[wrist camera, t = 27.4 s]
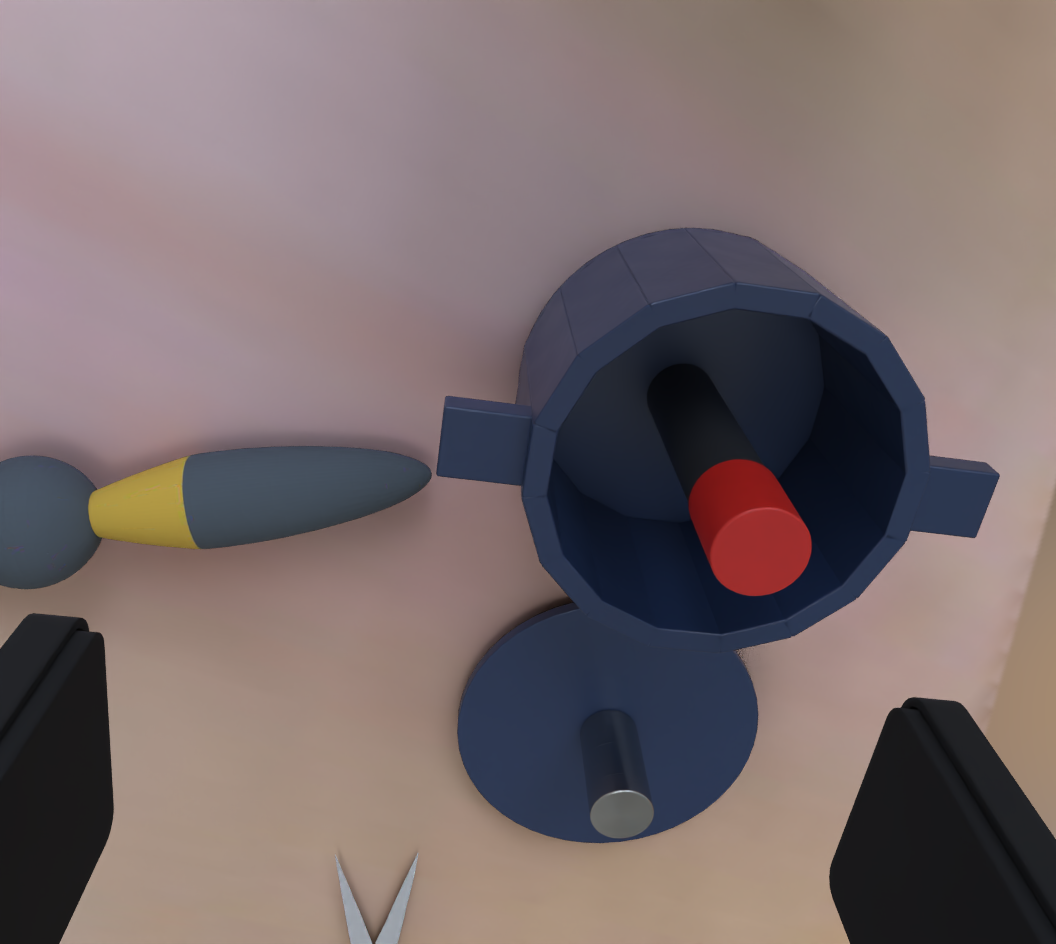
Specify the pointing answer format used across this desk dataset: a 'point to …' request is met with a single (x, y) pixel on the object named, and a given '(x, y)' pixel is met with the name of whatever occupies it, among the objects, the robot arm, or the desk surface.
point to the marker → (727, 486)
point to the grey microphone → (189, 503)
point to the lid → (602, 729)
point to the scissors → (394, 922)
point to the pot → (757, 405)
